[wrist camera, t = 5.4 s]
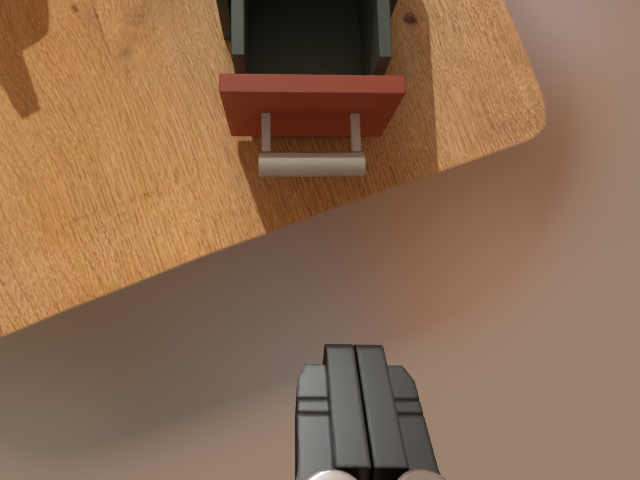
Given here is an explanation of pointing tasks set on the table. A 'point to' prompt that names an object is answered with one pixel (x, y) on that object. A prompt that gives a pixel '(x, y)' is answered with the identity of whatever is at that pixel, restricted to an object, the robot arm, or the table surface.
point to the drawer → (310, 79)
